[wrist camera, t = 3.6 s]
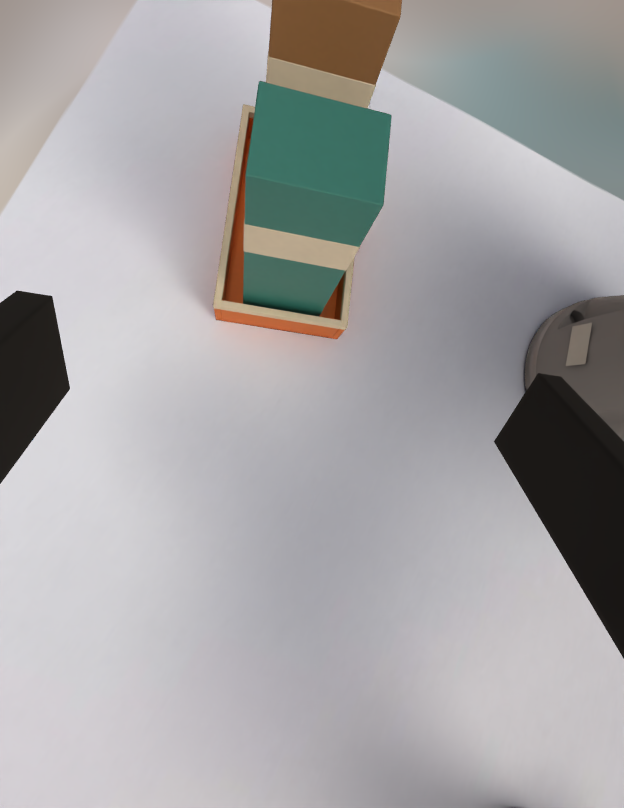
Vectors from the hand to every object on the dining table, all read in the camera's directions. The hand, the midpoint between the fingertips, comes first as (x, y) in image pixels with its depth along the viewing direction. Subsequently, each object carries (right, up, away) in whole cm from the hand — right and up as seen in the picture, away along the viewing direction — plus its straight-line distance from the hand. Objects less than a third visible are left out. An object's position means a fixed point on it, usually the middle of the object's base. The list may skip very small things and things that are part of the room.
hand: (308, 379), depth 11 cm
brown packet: (-1, +18, +23) cm, 29 cm away
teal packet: (-2, +9, +22) cm, 23 cm away
